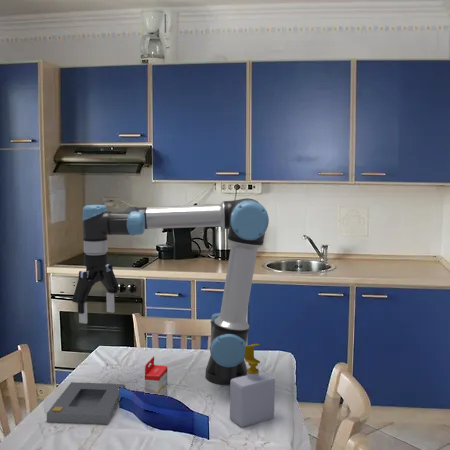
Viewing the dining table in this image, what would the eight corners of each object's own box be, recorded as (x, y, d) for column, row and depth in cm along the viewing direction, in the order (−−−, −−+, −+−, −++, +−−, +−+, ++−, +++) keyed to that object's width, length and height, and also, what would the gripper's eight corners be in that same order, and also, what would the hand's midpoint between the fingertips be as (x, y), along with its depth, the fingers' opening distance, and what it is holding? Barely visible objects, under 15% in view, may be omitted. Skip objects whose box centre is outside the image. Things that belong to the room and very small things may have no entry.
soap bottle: (241, 428, 159) (242, 350, 156) (228, 419, 164) (230, 343, 161) (274, 418, 165) (276, 343, 162) (261, 409, 171) (263, 337, 168)
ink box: (159, 413, 167) (159, 366, 165) (144, 411, 168) (143, 365, 166) (167, 400, 176) (167, 357, 174) (153, 399, 177) (153, 355, 175)
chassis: (124, 392, 181) (124, 383, 181) (107, 424, 160) (107, 414, 159) (71, 390, 182) (71, 381, 182) (46, 422, 160) (46, 412, 160)
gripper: (110, 246, 188) (112, 306, 191) (59, 258, 166) (61, 326, 169) (128, 248, 185) (129, 309, 188) (78, 260, 163) (80, 329, 166)
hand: (97, 317), depth 178 cm, fingers open, 13 cm apart
